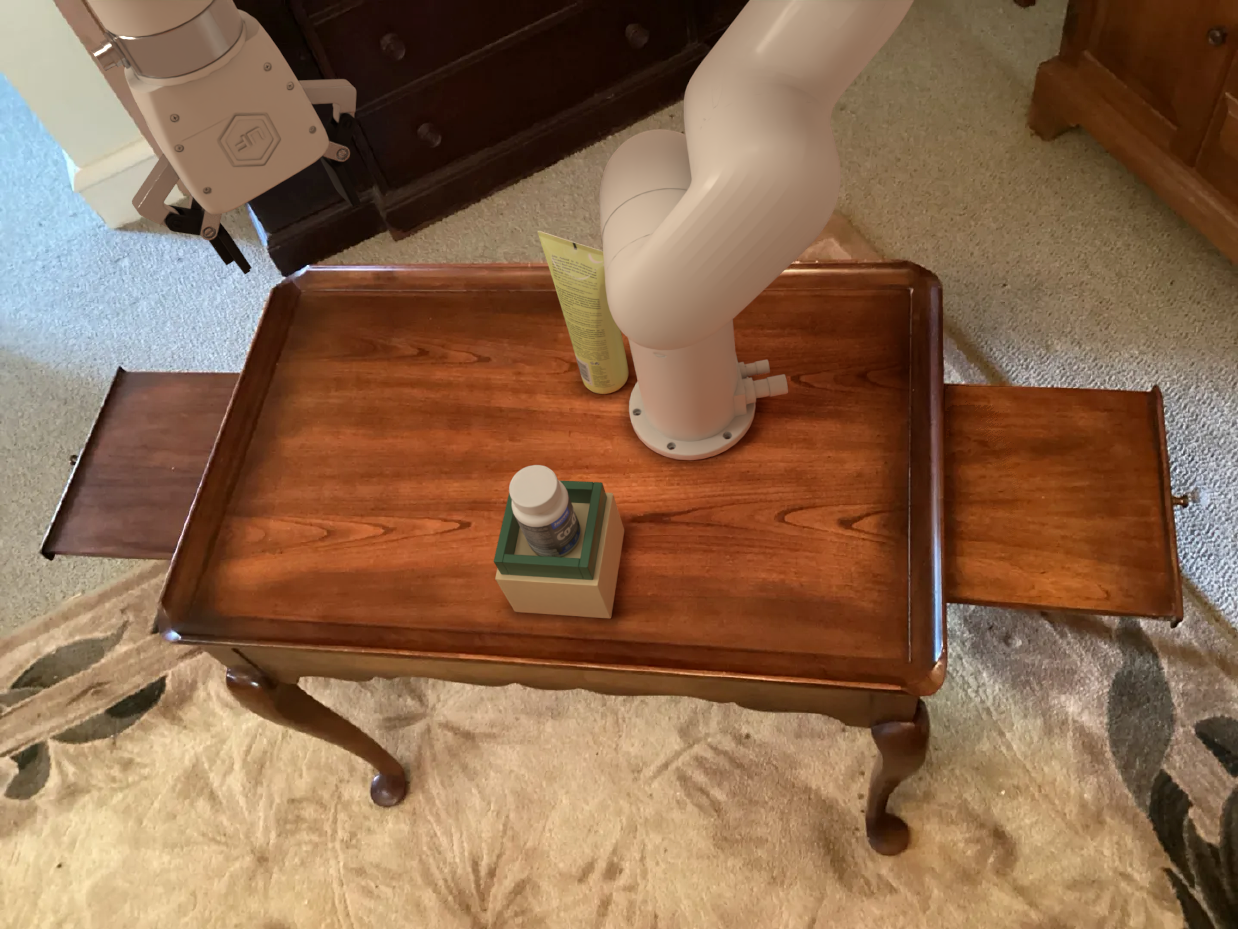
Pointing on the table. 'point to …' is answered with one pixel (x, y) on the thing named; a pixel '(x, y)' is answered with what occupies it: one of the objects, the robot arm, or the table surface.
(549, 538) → the pill bottle
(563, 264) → the tube
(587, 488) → the green rimmed box
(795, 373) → the table surface
